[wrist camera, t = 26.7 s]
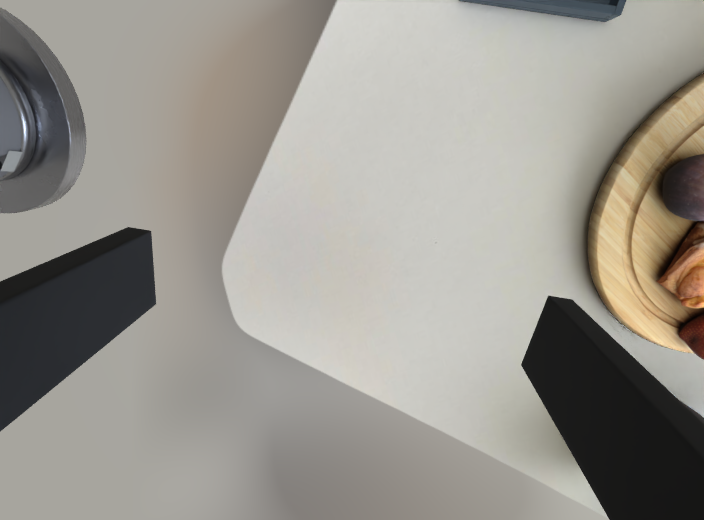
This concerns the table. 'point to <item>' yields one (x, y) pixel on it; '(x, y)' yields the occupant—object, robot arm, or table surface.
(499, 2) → the tray
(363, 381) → the table surface
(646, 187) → the wooden plate
